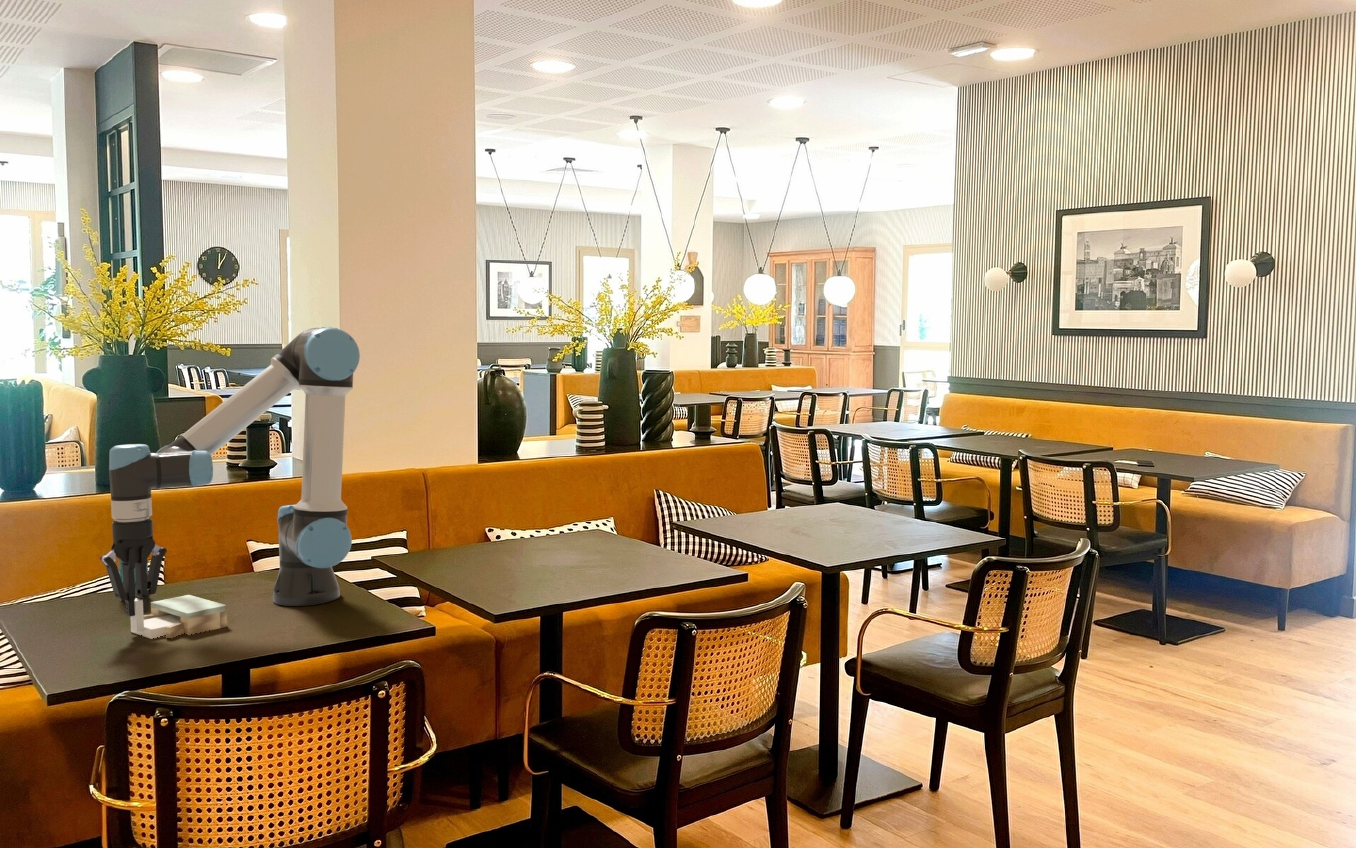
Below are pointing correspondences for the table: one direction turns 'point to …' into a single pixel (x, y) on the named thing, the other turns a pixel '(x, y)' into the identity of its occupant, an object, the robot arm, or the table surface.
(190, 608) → the miniature low table
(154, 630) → the white eraser slab
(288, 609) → the table surface
